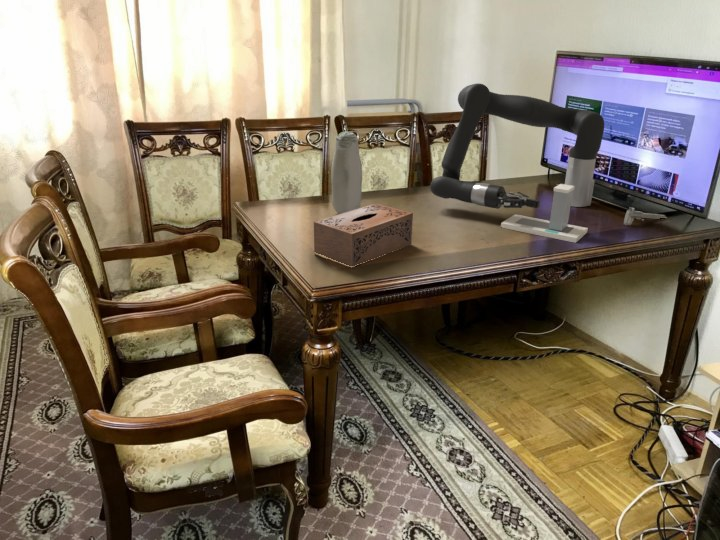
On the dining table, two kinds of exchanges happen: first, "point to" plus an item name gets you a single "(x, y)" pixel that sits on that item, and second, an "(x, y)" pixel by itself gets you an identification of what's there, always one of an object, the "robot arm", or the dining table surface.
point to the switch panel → (543, 228)
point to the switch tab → (561, 207)
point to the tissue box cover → (363, 233)
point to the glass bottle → (346, 173)
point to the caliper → (639, 216)
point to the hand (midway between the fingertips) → (538, 204)
